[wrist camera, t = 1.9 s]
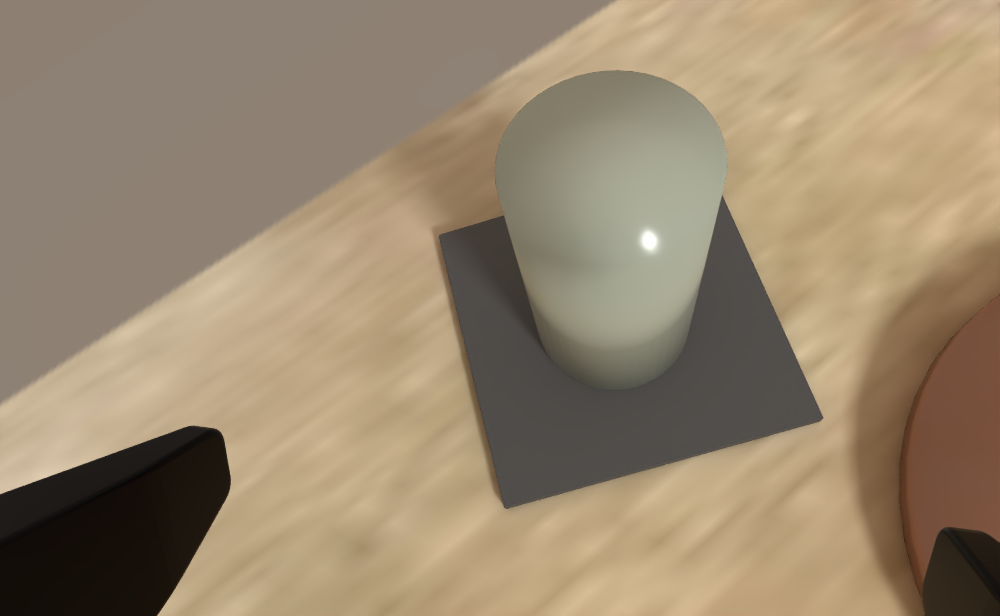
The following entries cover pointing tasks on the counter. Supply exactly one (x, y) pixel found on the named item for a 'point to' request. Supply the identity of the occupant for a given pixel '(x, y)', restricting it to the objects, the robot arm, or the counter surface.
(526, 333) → the rubber mat
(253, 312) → the counter surface
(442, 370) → the counter surface
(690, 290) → the sage canister
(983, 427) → the terracotta plate
